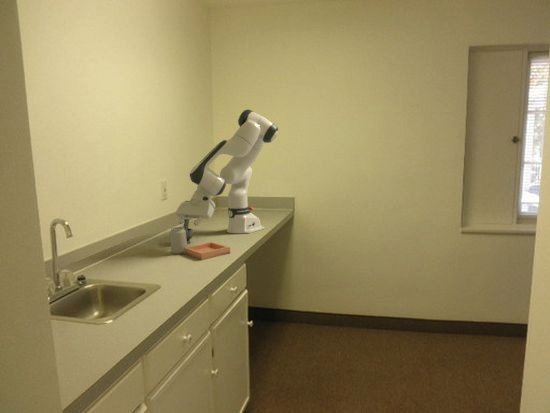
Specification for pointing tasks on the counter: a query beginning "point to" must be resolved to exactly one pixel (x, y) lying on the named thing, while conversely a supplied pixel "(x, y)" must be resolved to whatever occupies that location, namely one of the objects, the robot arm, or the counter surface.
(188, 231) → the mortar and pestle
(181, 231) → the can
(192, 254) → the dish
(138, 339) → the counter surface
